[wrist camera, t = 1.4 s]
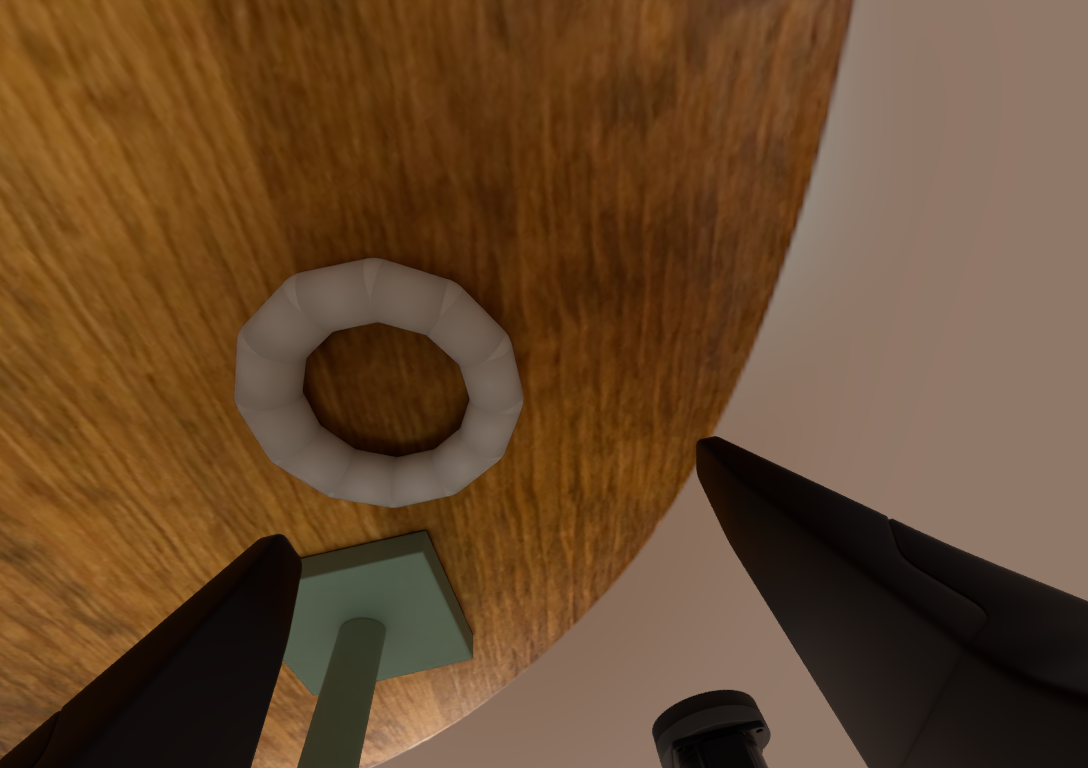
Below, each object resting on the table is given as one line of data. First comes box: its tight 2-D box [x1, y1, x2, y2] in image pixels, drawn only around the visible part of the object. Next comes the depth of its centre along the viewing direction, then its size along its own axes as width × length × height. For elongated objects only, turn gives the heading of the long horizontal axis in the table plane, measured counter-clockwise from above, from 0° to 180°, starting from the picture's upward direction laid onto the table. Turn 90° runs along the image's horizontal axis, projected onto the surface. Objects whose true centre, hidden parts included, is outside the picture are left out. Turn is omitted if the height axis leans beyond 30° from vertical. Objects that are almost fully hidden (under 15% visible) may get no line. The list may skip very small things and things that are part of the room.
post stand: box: [283, 531, 473, 768], centre depth 16 cm, size 8×8×9 cm
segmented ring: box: [234, 258, 524, 508], centre depth 14 cm, size 9×9×2 cm
